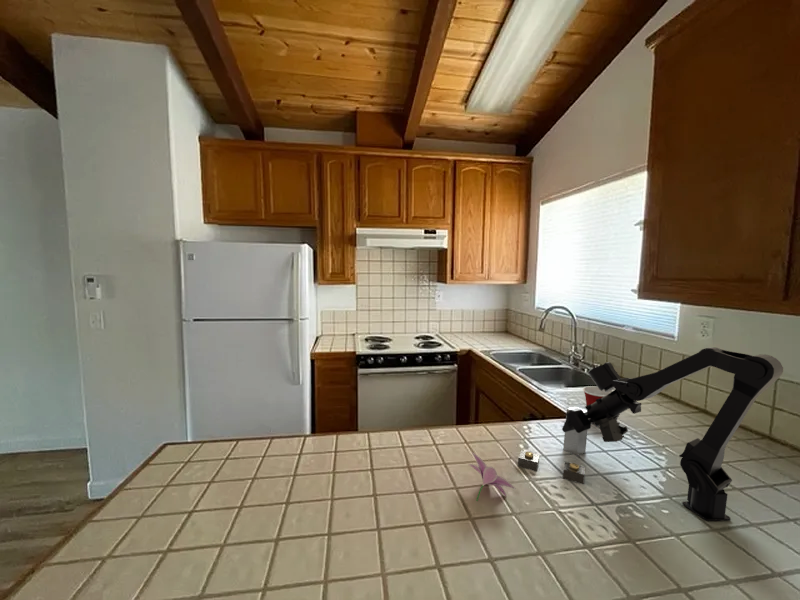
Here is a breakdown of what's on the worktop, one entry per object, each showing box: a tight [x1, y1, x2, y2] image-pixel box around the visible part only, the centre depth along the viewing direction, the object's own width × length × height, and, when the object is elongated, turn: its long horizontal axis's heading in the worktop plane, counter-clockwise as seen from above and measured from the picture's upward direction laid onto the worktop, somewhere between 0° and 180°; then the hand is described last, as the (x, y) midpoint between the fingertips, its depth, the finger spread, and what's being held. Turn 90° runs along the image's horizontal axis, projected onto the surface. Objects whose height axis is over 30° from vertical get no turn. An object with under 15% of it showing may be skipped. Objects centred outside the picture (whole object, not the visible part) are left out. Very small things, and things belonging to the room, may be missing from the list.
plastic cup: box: [582, 385, 614, 406], centre depth 142 cm, size 11×11×12 cm
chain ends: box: [517, 450, 586, 485], centre depth 102 cm, size 16×5×3 cm, turn 63°
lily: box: [468, 451, 517, 502], centre depth 89 cm, size 12×12×10 cm
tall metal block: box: [562, 406, 589, 457], centre depth 115 cm, size 4×4×13 cm
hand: (572, 428), depth 116 cm, fingers open, 9 cm apart
